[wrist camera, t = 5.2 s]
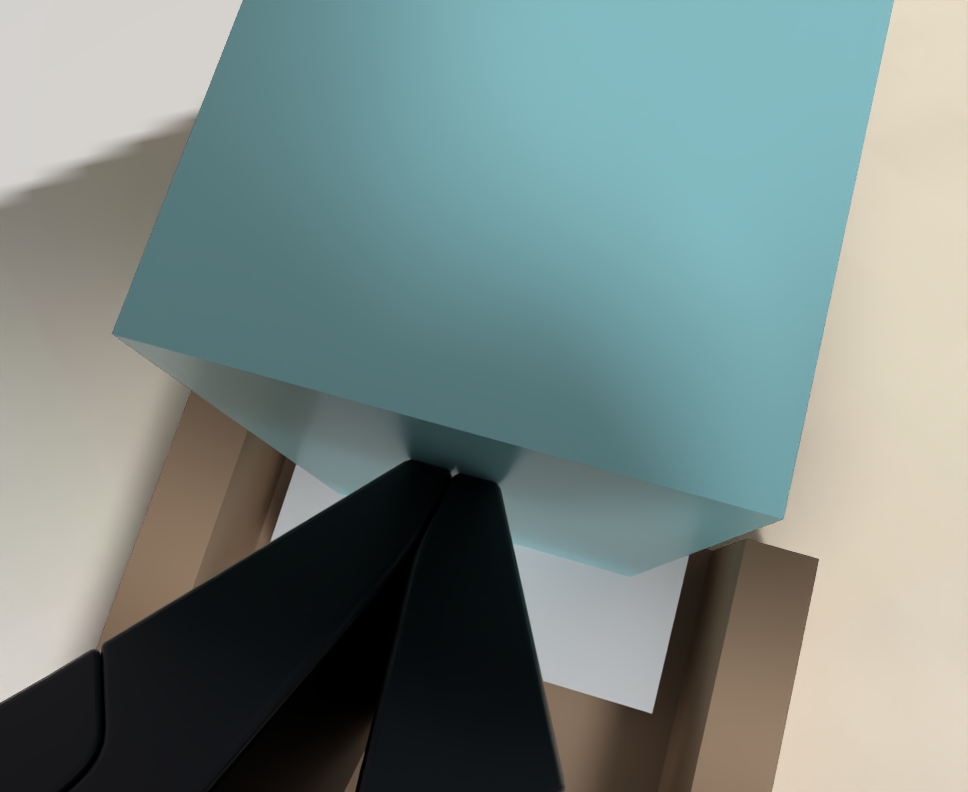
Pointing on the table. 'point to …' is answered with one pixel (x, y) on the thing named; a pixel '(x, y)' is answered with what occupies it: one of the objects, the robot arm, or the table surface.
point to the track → (575, 715)
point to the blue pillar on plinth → (525, 272)
